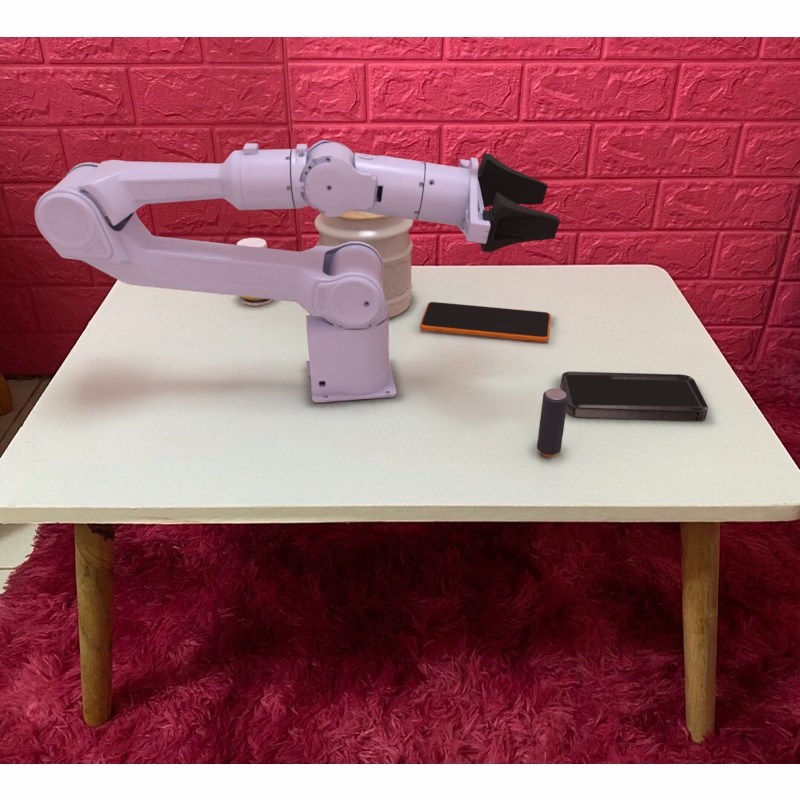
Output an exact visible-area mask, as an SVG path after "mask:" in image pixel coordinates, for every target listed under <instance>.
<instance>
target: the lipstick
mask: <svg viewBox="0 0 800 800" xmlns="http://www.w3.org/2000/svg"><path fill="white" fill-rule="evenodd" d="M541 400H542V401H541V409H540V416H539V417H540V418H539V426H538V434H537V442H536V449H537V450H538V451H539V453H540V454H541V455H542V456H544V457H548V458H549V457H554V456H556V455H557V454H559V453H560V452H561V450H562V444H563V436H564V431H565V423H566V415H567V402H568V395H567V394H566V393H565V392H564V391H563V390H562V389H560V388H555V387H554V388H549V389H547V390H545V391H544V392H543V394H542V399H541Z"/></svg>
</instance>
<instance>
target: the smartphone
mask: <svg viewBox="0 0 800 800" xmlns="http://www.w3.org/2000/svg"><path fill="white" fill-rule="evenodd" d="M551 319H552V315H551V313H550V312H548V311H537V310H529V309H527V310H525V309H517V308H516V309H514V308H507V307H506V308H504V307H494V306H484V305H483V306H482V305H472V304H460V303H452V302H451V303H450V302H438V301H430V302H428V303H427V304H426V306H425V310H424V313H423V315H422V318H421V321H420V323H419V328H420V329H421V330H423V331H429V332H439V333H450V334H462V335H471V336H481V337H490V338H502V339H510V340H511V339H512V340H523V341H531V342H542V343H543V342H547V341H549V339H550V333H551V332H550V331H551Z"/></svg>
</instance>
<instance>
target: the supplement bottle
mask: <svg viewBox="0 0 800 800" xmlns="http://www.w3.org/2000/svg"><path fill="white" fill-rule="evenodd" d="M267 243H268V242H267V241H266V239H263V238H260V237H248V238H242V239H240V240H238V241H237V243H236V245H242V246H251V247H260V248H268V244H267ZM240 300H241V302H242V303H243V304H245V305H247V306H249V307H250V306H251V307H260V306H264V305H268V304H270V303H272V302H273V301H275V300H274V299H264V298H254V297H244V296H240Z"/></svg>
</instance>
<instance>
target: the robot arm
mask: <svg viewBox="0 0 800 800" xmlns="http://www.w3.org/2000/svg"><path fill="white" fill-rule="evenodd" d="M480 160H481V161H480V164H479V160H478V158H476V157H470V159H469V160H468V159H459V163H458V166H453V165H446V164H439V163H432V162H426V161H425V162H424V161H420V160H414V159H407V158H400V157H393V156H387V155H373V154H367V153H361V152H360V153H359V152H353V151H352V150H351V149H350V148H349V147H348V146H346V145H345V144H343V143H340V142H337V141H329V140H326V139H322V140H319V141H318V142H316V143H314V144H313V145H312V146H310V147H308V144H306V143H297V144H296V147H295V148H279V149H277V148H276V149H275V148H274V149H259V144H258V143H256V142H254V143H251V142H250V143H245V145H243V148H242V149H241V150H239V149H238V150H234V151H232V152H231V153H230V154H229V156H227V158H226V160H224V162H221V163H213V162H209V163H207V162H173V161H171V162H166V161H165V162H164V161H127V160H120V159H109V160H104V161H101V162H100V163H97V162H91V161H89V162H82V163H79V164H77V165H74V166H73V167H72V168H71V169H70V170H69V171H68V172H67V173H66V176H65V177H64V178H63V179H62V180H61V181H59V182H58V183H57V184H56V185H55V186H54V187H53V188H51V189H50V190H47V191H46V192H45V193H43V194H42V195H41V196H40V197H39V199H38V200H37V202H36V205H35V207H34V220H35V224H36V226H37V229H38V230H39V232H40V233H41V235H42V236H43V238H44V239H45V240H46V241H47V243H49V244H50V246H51V247H52V248H53V249H54V250H55V251H56V253H57V254H58V255H59V256H60V257H61V258H63V259H68V260H69V259H71V260H77V261H82V262H83V263H85V264H88V265H89V266H91V267H92V268H95V269H97V270H99V271H101V272H103V273H105V274H106V275H108V276H110V277H111V278H114V279H116V280H117V281H119V282H121V283H124V284H126V285H130V286H137V287H148V288H158V289H167V290H175V291H176V290H179V291H186V292H196V293H206V294H215V295H224V296H225V295H226V296H235V297H241V296H244V297H254V298H264V299H274V300H273V301H284V302H295V303H297V304H298V305H299V306H300V307H301V308H302V309H303V310H305V311H306V312H307V313H308V314H307V315H305V323H306V334H307V335H306V337H307V347H308V348H307V349H308V360H306V362H305V363H306V365H305V366H306V376H307V377H310V388H311V389H310V390H311V400H312V402H313V403H316V404H317V403H329V402H343V401H355V400H370V399H381V398H382V399H383V398H394V397H396V396H397V388H396V385H395V384H396V383H395V380H394V376H393V373H392V368H391V364H390V331H389V330H390V327H389V326H390V324H389V323H390V322H389V321H390V318H389V309H388V306H387V304H386V303H385V297H384V293H383V271H384V265H383V261H382V258H381V256H380V254H379V253H378V251H377V250H376V249H375V248H374V247H372V246H371V245H369V244H367V243H364V242H359V241H351V242H346V243H344V244H341V245H338V246H317V247H316V246H314V247H311V248H309V249H305V250H302V251H297V250H286V249H277V248H269V247H267V248H260V247H251V246H242V245H237V244H231V243H221V242H214V241H213V242H212V241H204V240H194V239H186V238H175V237H168V236H158V235H153V234H152V233H151V231H149V229H148V228H147V227H146V226H145V224H144V223H143V222H142V221H141V219H140V218H139V216H138V214H137V212H136V211H137V210H138V209H139V208H141V207H143V206H144V205H153V204H164V203H177V202H192V201H204V200H217V199H224V200H225V201H227V202H228V203H229V204H230V205H232V206H233V207H234V208H236V209H237V210H238V211H257V210H258V211H259V210H261V211H262V210H290V209H292V210H293V209H294V210H295V209H297V210H298V209H303V208H305V207H311V208H312V209H314V210H318V212H319V213H324V214H325V217H338V216H341V215H343V214H345V213H347V212H349V211H351V210H353V211H361V212H368V213H372V214H378V215H385V216H392V217H399V218H406V219H413V221H414V220H415V221H420V222H427V223H434V224H442V225H448V226H454V227H455V226H456V227H457V228H458V229H459V231H461V232H462V233H463V234H464V236H465V240H466V242H467V243H468V242H469V243H477V244H480V248H481V252H483V253H493V252H495V251H499V250H500V249H503V248H505V247H508V246H512V245H515V244H521V243H527V242H536V241H537V242H538V241H547V240H553V239H555V238H556V235H557V232H558V229H559V225H560V222H561V220H560V217H558V216H556V215H555V214H552V213H549V212H546V211H543V210H542V211H541V210H537V209H533V208H530V207H526V205H529V206H535V205H543V203H544V200H545V197H546V195H547V194H546V193H547V191H548V187H549V186H548V183H546V182H545V181H542V180H540V179H537V178H535V177H532V176H529V175H528V174H525V173H522V172H520V171H517V170H515V169H514V168H511V167H510V166H509V165H506V164H505V163H503V162H501V161H500V160H499V159H497V158H496V157H495V156H494V155H492V154H491V153H487V152H483V154H482V157H481V159H480ZM487 207H489V208H488V210H486V209H485V208H487Z"/></svg>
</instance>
